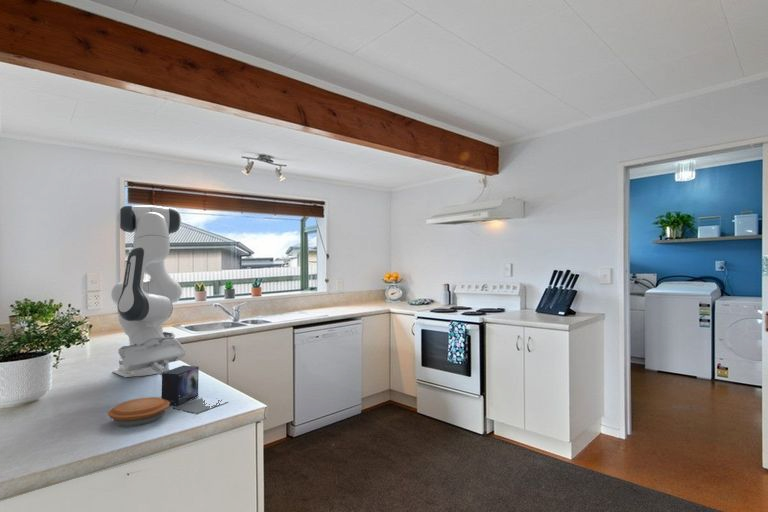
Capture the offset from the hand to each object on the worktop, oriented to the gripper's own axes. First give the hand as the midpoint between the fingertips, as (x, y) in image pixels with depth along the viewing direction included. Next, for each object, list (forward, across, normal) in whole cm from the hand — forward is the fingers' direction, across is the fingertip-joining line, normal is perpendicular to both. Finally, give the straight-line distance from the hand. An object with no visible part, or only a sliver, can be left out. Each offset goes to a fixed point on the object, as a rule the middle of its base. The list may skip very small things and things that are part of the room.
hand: (165, 373), depth 138 cm
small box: (+12, 0, 0) cm, 12 cm away
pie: (+14, -16, -2) cm, 22 cm away
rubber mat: (+18, 0, -7) cm, 20 cm away
